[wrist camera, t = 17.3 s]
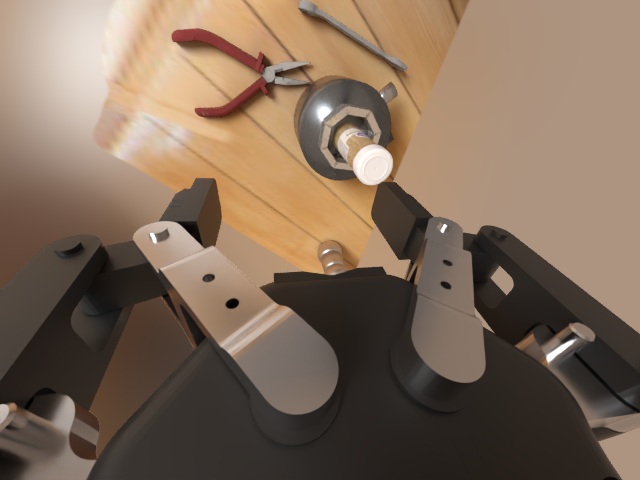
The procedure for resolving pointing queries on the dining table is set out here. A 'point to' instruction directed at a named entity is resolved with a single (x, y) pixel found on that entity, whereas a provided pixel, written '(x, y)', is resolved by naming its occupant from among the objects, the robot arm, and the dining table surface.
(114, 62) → the dining table surface
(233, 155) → the dining table surface
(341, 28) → the combination wrench
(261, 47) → the dining table surface
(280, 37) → the dining table surface
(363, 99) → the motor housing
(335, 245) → the plastic bottle
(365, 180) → the spice jar
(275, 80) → the pliers
